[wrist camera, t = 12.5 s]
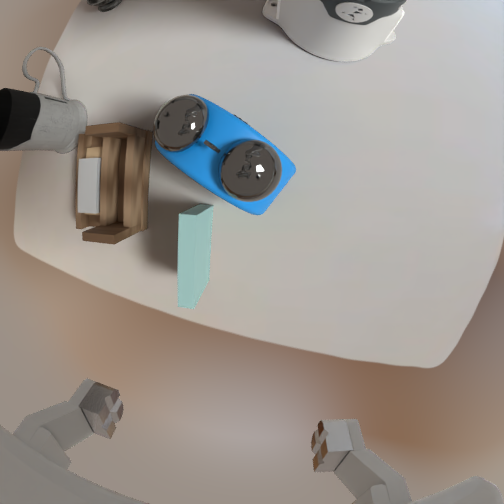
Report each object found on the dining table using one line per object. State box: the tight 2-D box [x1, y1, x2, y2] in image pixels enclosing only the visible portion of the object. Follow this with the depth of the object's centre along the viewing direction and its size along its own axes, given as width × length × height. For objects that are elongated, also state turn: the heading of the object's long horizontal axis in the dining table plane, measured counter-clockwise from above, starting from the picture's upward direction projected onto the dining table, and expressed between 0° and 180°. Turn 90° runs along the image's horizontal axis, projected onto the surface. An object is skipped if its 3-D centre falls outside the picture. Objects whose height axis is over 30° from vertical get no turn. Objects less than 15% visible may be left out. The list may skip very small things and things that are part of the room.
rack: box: [76, 122, 153, 244], centre depth 29 cm, size 13×10×8 cm
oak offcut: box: [85, 147, 103, 215], centre depth 31 cm, size 9×3×2 cm, turn 175°
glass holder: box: [0, 47, 87, 153], centre depth 23 cm, size 9×14×15 cm, turn 157°
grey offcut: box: [78, 158, 102, 214], centre depth 30 cm, size 7×3×2 cm, turn 175°
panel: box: [178, 204, 213, 309], centre depth 31 cm, size 10×2×8 cm, turn 175°
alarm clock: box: [153, 94, 296, 215], centre depth 25 cm, size 13×6×15 cm, turn 53°
